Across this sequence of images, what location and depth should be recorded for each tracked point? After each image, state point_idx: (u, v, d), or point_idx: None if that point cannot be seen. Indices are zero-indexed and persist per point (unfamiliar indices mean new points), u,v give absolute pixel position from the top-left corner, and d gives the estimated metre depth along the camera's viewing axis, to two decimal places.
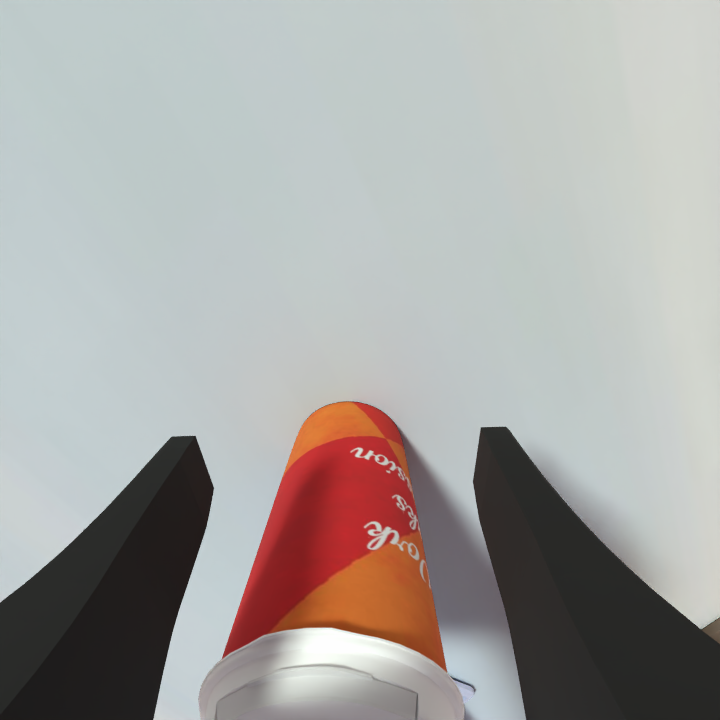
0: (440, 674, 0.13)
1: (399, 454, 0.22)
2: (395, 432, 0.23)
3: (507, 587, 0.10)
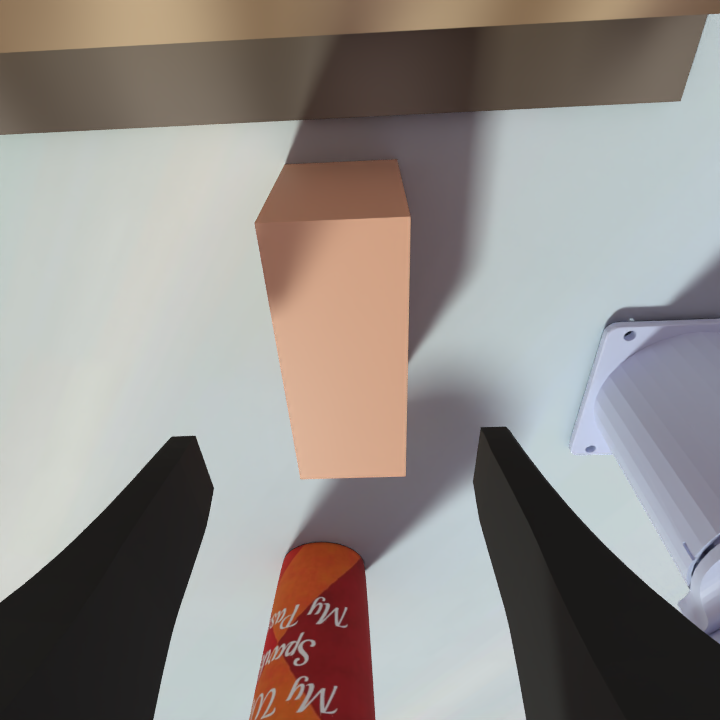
0: None
1: (274, 600, 0.29)
2: (280, 572, 0.31)
3: (507, 587, 0.10)
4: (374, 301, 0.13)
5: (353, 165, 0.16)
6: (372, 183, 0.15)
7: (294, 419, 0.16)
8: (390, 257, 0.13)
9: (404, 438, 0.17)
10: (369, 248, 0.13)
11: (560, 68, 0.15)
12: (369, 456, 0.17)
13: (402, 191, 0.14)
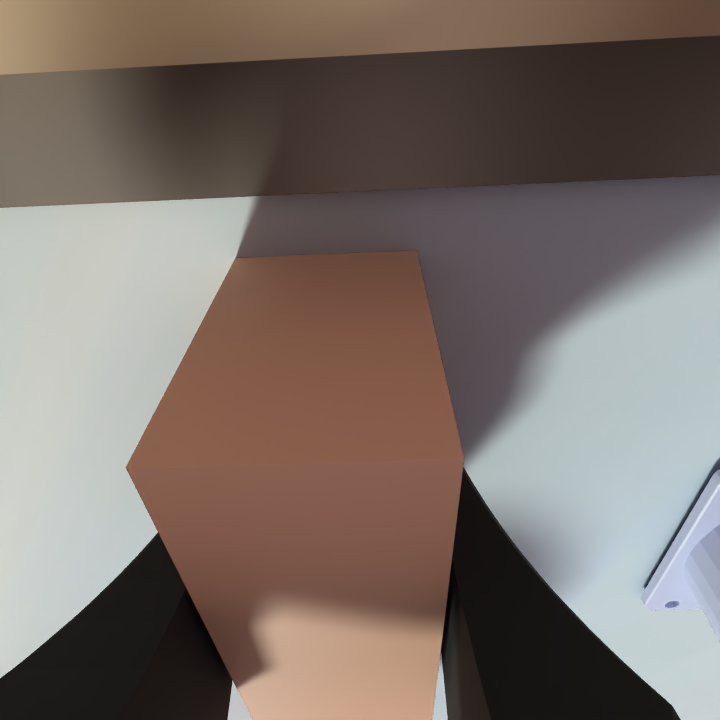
0: None
1: None
2: None
3: None
4: (382, 573, 0.07)
5: (345, 267, 0.10)
6: (377, 322, 0.08)
7: (246, 693, 0.10)
8: (416, 517, 0.06)
9: (430, 710, 0.10)
10: (372, 503, 0.06)
11: (716, 111, 0.08)
12: None
13: (436, 353, 0.07)
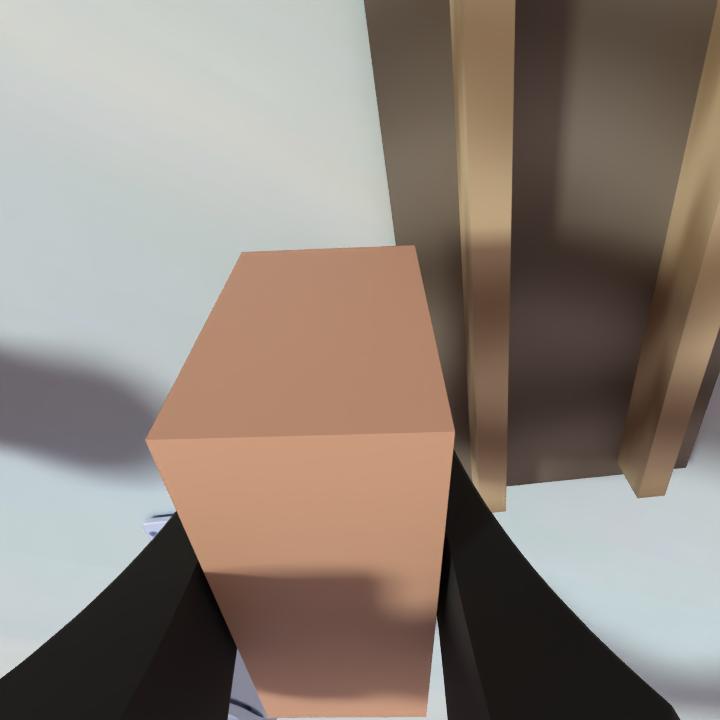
0: None
1: None
2: None
3: None
4: (380, 543, 0.07)
5: (347, 261, 0.10)
6: (377, 311, 0.09)
7: (251, 665, 0.10)
8: (411, 488, 0.07)
9: (426, 683, 0.11)
10: (371, 475, 0.07)
11: None
12: (372, 699, 0.11)
13: (431, 339, 0.08)
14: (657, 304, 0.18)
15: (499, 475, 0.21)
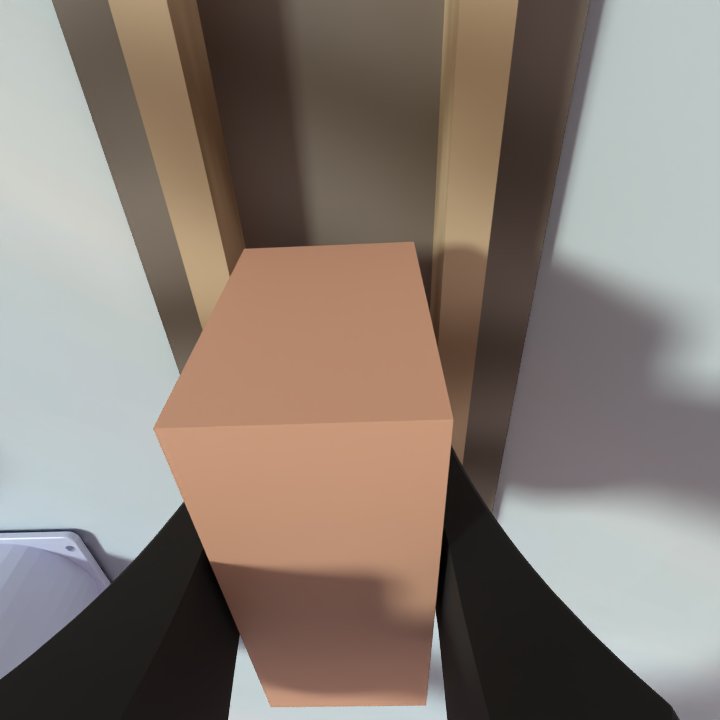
0: None
1: None
2: None
3: None
4: (381, 530, 0.08)
5: (347, 257, 0.10)
6: (376, 305, 0.09)
7: (254, 654, 0.10)
8: (412, 476, 0.07)
9: (426, 672, 0.11)
10: (372, 462, 0.07)
11: None
12: (372, 687, 0.11)
13: (430, 331, 0.08)
14: None
15: None
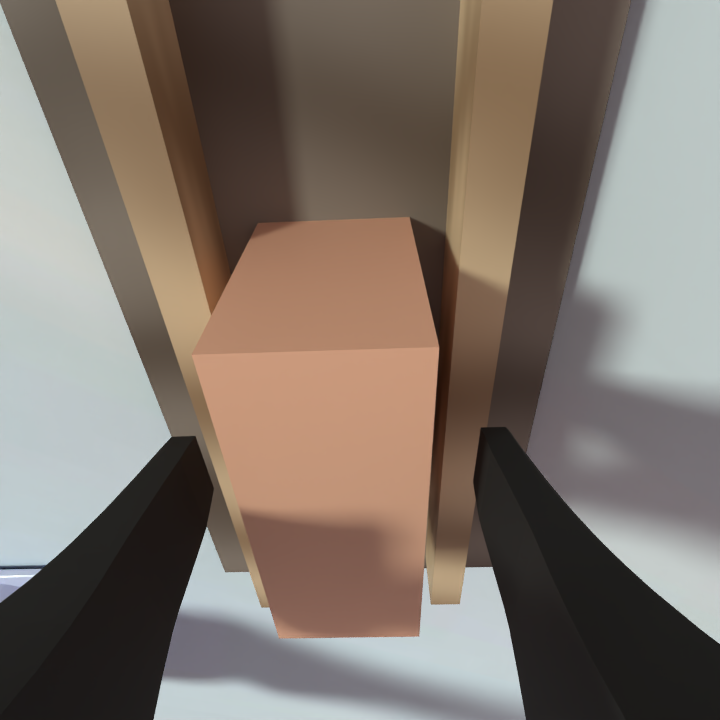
0: None
1: None
2: None
3: (507, 587, 0.10)
4: (379, 452, 0.09)
5: (350, 229, 0.12)
6: (376, 266, 0.10)
7: (267, 580, 0.12)
8: (404, 400, 0.08)
9: (419, 600, 0.12)
10: (372, 388, 0.08)
11: (230, 521, 0.20)
12: (371, 617, 0.13)
13: (422, 285, 0.09)
14: (436, 411, 0.16)
15: None
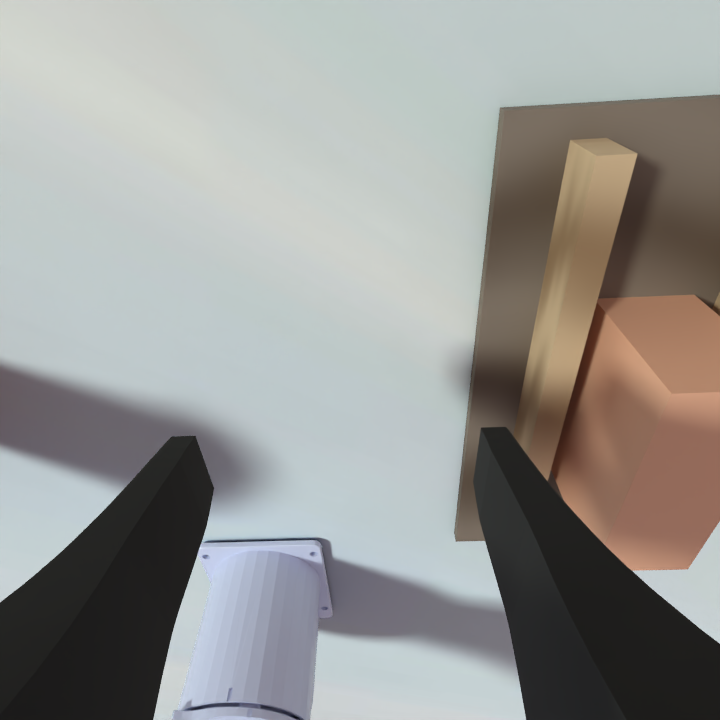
0: None
1: None
2: None
3: (507, 587, 0.10)
4: None
5: (665, 305, 0.19)
6: (714, 335, 0.17)
7: (615, 527, 0.19)
8: None
9: (704, 541, 0.19)
10: None
11: None
12: (665, 554, 0.20)
13: None
14: None
15: None
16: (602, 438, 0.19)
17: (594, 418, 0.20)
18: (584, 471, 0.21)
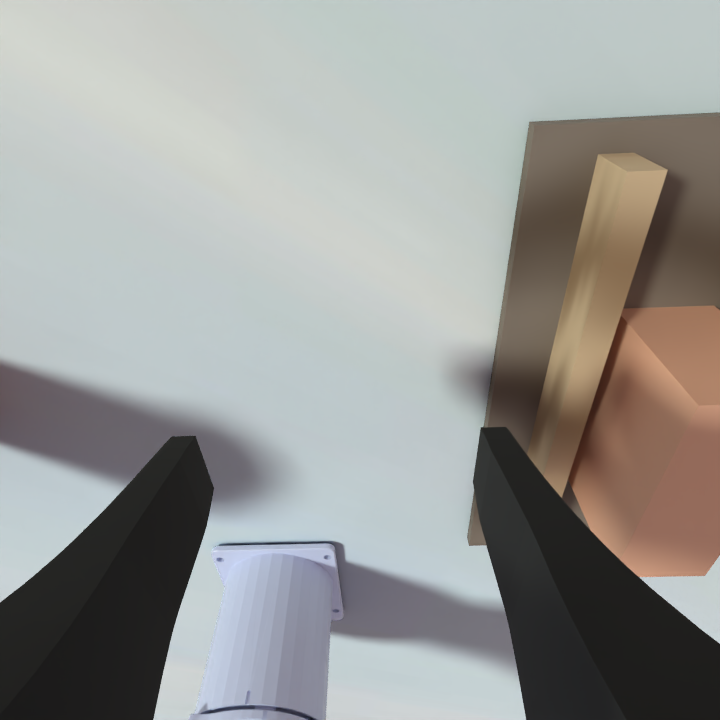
0: None
1: None
2: None
3: (507, 587, 0.10)
4: None
5: (686, 315, 0.19)
6: None
7: (636, 535, 0.19)
8: None
9: None
10: None
11: None
12: (683, 561, 0.20)
13: None
14: None
15: None
16: (623, 446, 0.19)
17: (614, 427, 0.20)
18: (603, 479, 0.21)
